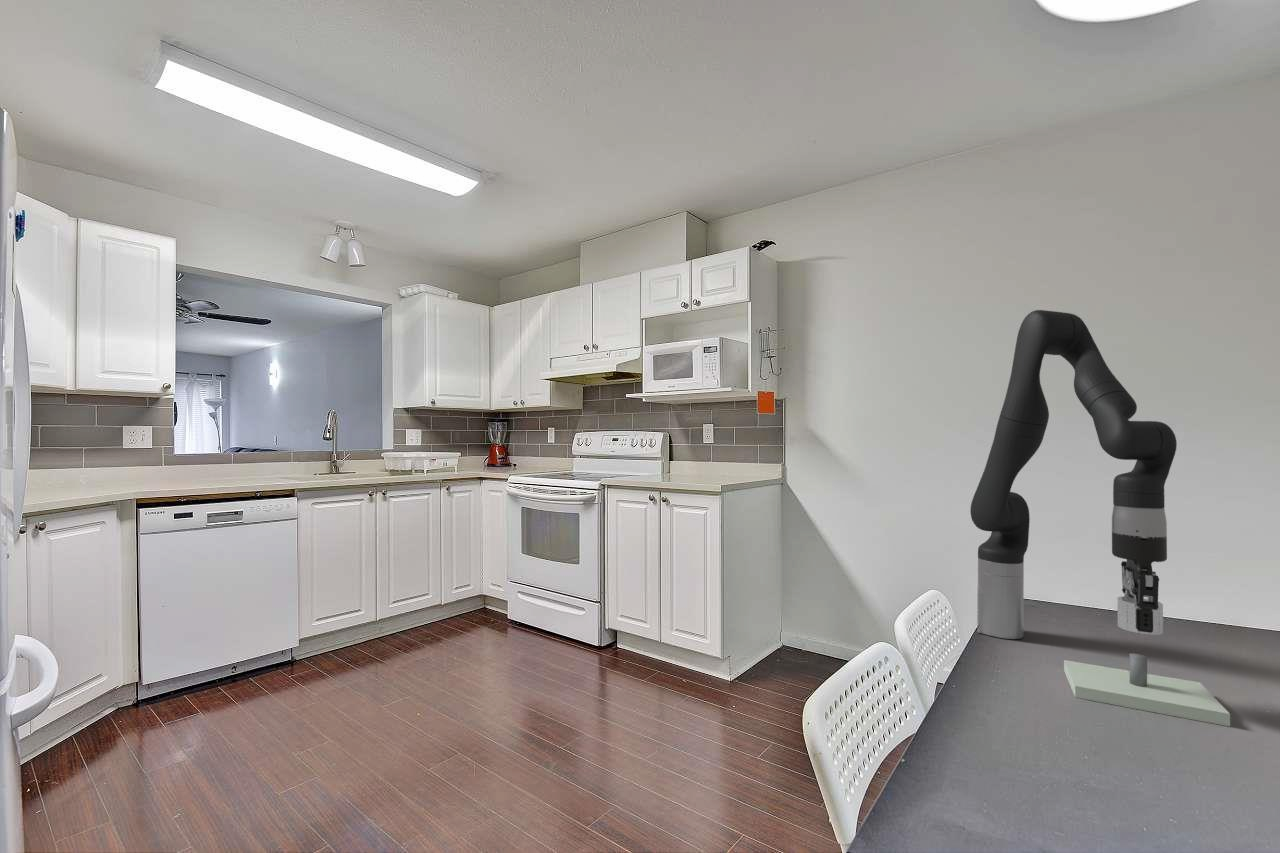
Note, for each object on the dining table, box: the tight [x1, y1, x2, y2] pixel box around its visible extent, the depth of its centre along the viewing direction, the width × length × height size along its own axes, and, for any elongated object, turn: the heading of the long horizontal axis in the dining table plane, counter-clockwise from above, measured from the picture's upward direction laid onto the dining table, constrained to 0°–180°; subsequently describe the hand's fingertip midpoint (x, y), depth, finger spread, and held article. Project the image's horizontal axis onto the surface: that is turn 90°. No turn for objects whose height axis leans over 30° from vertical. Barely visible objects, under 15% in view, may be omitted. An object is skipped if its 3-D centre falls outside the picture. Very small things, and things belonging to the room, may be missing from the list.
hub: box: [1116, 596, 1164, 636], centre depth 104 cm, size 6×6×5 cm
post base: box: [1063, 653, 1231, 727], centre depth 104 cm, size 20×14×7 cm
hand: (1139, 625), depth 104 cm, fingers closed on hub, 6 cm apart
